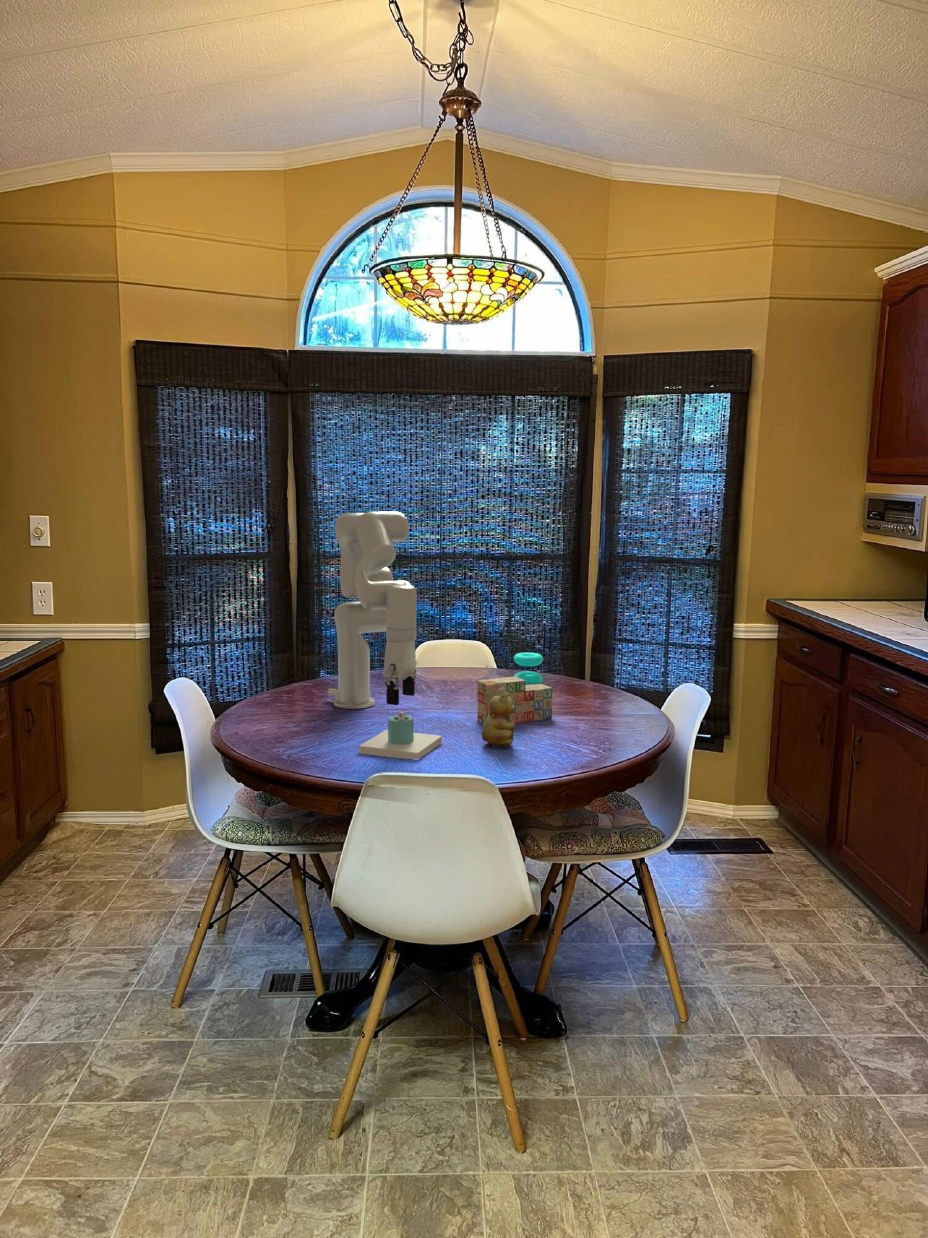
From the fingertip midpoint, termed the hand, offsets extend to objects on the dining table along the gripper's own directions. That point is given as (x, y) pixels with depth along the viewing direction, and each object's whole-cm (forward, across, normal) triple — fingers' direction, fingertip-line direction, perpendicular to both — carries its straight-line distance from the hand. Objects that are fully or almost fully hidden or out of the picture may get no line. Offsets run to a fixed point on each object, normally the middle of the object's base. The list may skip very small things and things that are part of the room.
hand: (400, 699), depth 229 cm
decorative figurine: (+13, -11, +23) cm, 28 cm away
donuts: (+14, -84, +10) cm, 86 cm away
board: (+13, +1, +1) cm, 13 cm away
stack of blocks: (+13, -37, +19) cm, 44 cm away
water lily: (+14, -60, +7) cm, 62 cm away
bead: (+11, +1, +1) cm, 11 cm away
